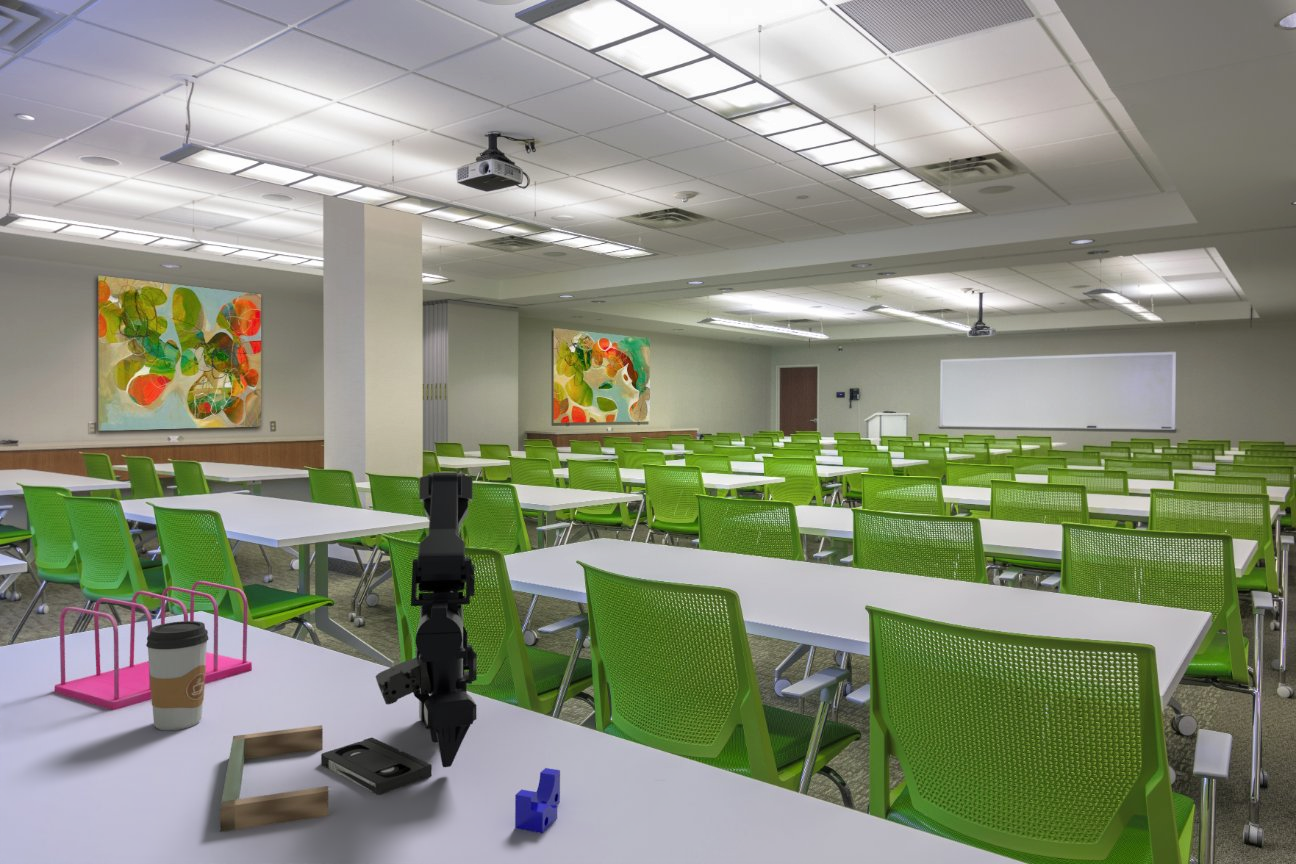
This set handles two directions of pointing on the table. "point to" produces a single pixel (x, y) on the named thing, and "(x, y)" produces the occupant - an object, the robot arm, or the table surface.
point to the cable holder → (538, 803)
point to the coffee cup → (177, 673)
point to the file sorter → (134, 679)
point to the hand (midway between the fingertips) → (441, 753)
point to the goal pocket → (274, 805)
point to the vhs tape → (376, 765)
